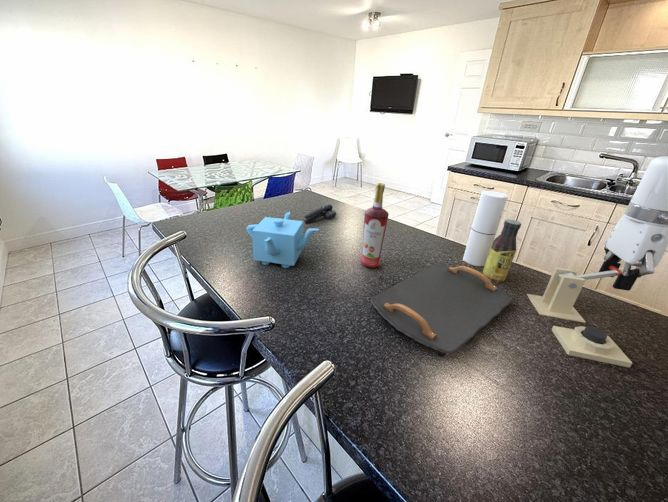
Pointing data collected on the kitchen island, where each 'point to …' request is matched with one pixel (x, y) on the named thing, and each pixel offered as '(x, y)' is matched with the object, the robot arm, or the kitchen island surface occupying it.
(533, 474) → the kitchen island surface
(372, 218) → the liquor
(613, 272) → the red tipped lever
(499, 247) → the sauce bottle
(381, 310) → the serving tray
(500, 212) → the cylindrical container
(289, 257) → the teakettle
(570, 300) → the cream upright bracket stand
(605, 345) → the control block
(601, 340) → the dark round button
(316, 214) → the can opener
